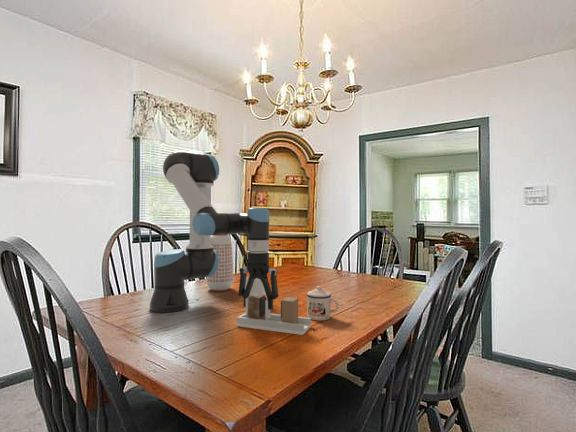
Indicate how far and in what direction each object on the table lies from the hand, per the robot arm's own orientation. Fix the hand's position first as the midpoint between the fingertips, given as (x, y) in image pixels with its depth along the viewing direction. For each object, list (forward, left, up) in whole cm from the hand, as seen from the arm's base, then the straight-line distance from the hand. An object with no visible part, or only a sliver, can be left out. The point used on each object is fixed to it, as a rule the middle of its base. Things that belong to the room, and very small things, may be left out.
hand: (258, 317), depth 125 cm
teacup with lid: (+19, +16, -3) cm, 25 cm away
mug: (-13, +26, -3) cm, 29 cm away
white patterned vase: (-42, +43, -3) cm, 60 cm away
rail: (+6, 0, -3) cm, 7 cm away
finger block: (0, 0, -2) cm, 2 cm away
